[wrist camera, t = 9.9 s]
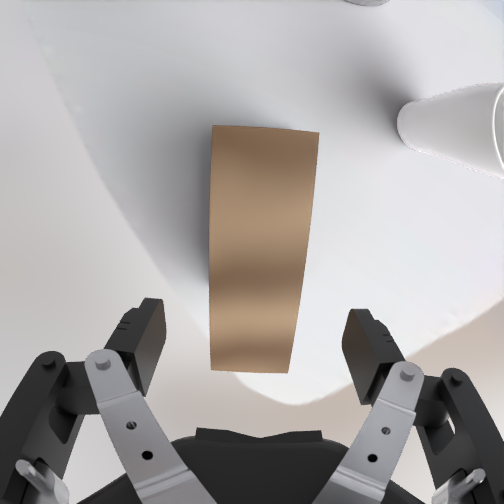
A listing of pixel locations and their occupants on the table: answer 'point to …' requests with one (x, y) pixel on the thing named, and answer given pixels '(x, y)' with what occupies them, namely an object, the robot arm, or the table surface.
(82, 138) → the table surface
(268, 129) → the brown rectangular block
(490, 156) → the drinking glass
